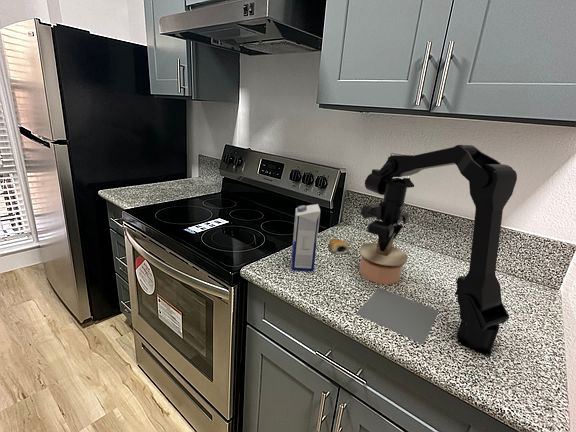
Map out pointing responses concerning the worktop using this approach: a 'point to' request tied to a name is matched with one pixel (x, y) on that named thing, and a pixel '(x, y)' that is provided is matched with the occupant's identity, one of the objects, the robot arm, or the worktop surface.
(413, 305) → the mat
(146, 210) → the worktop surface
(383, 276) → the bowl
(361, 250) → the lid
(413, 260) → the worktop surface
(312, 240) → the milk carton
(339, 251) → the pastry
